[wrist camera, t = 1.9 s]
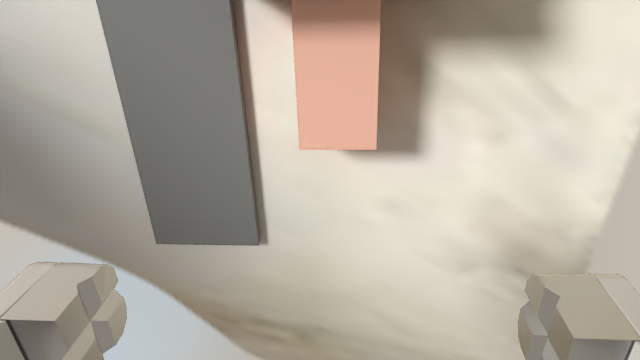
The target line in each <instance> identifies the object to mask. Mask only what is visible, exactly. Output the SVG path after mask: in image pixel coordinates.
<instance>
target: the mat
mask: <svg viewBox="0 0 640 360" xmlns="http://www.w3.org/2000/svg"><path fill="white" fill-rule="evenodd" d="M96 2H97V6H98V10H99V14H100V18H101V22H102V26H103V30H104V34H105V38H106V42H107V47H108V51H109V55H110V59H111V63H112V67H113V71H114V75H115V79H116V83H117V87H118V91H119V95H120V99H121V103H122V107H123V111H124V115H125V119H126V123H127V127H128V131H129V135H130V139H131V143H132V147H133V151H134V155H135V159H136V163H137V167H138V171H139V175H140V179H141V183H142V187H143V191H144V195H145V199H146V203H147V207H148V211H149V215H150V219H151V223H152V227H153V231H154V235H155V239H156V243H157V244H194V245H259V242H260V235H259V226H258V218H257V209H256V200H255V192H254V183H253V175H252V166H251V157H250V149H249V140H248V131H247V123H246V114H245V106H244V97H243V88H242V80H241V71H240V62H239V54H238V45H237V37H236V28H235V19H234V11H233V2H232V0H96Z"/></svg>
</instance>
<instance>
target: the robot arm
mask: <svg viewBox="0 0 640 360" xmlns="http://www.w3.org/2000/svg"><path fill="white" fill-rule="evenodd" d="M117 282H118V279H117V277H116V274H115V271H114V268H113V267H111V266H109V265H106V264H83V263H54V262H37V263H33V264H30V265H28V267H26V268H25V269H24V270H23V271H22V272H21V273H20V274H19V275H18V276H17V277H16V278H14V279H13V280H12V281H11V282H10V283H9V284H8V285H7V286H6V287H5V288H4V289H3V290H2V291H1V292H0V360H104V358H103V353H104V352H106V351H107V350H109V349H110V348H112V347H113V346H115V345H116V344H117V342H118V340H119V338H120V337H121V335H122V334H123V331H124V327H125V323H126V319H127V314H126V313H127V312H126V304H125V301H124V298H123V297H122V296H121V295H120V294H119V293H118V292H116V291H115V290H114V287H115V285H116V283H117ZM525 292H526V294H527V296H528V298H529V300H530V301H529V302H528V303H527V304H526V305H525V306H523V307H522V308H521V309H520V314H519V320H518V334H519V341H520V345H521V349H522V351H523V354H524V356H525V359H526V360H640V294H639V293H638V292H637V291H636V290H635V288H634V287H633V286H632V285H631V284H630V283H629V281H628V280H627V279H626V278H625V277H623V276H621V275H619V274H588V275H573V274H531V275H530V277H529V278H528V280H527V284H526V288H525Z"/></svg>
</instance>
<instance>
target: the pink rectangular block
mask: <svg viewBox="0 0 640 360" xmlns="http://www.w3.org/2000/svg"><path fill="white" fill-rule="evenodd" d="M291 11H292V28H293V46H294V63H295V81H296V98H297V115H298V133H299V150H376V147H377V114H378V82H379V49H380V17H381V0H291Z"/></svg>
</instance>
